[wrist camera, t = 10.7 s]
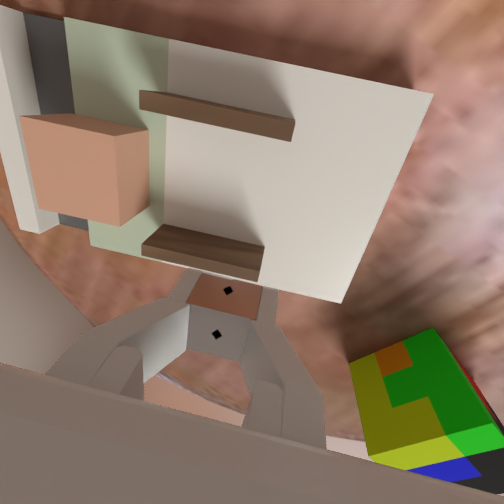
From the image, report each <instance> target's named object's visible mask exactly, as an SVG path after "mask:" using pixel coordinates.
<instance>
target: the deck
mask: <svg viewBox="0 0 504 504" xmlns="http://www.w3.org/2000/svg"><path fill="white" fill-rule="evenodd" d="M139 90H148V91H159V92H169V93H173V94H178V95H182V96H187V97H192V98H196V99H201V100H206V101H210V102H215V103H220V104H224V105H229V106H234V107H238V108H243V109H248V110H252V111H257V112H262V113H266V114H271V115H276V116H280V117H285V118H290V119H294V120H295V127H294V132H293V136H292V140H291V142H288V141H283V140H278V139H274V138H269V137H264V136H260V135H255V134H251V133H246V132H241V131H237V130H232V129H228V128H223V127H218V126H214V125H209V124H205V123H200V122H195V121H191V120H186V119H182V118H177V117H172V116H168V115H163V114H159V113H154V112H149V111H145V110H140V109H139ZM433 95H434V94H431V93H426V92H421V91H416V90H412V89H407V88H402V87H397V86H393V85H388V84H383V83H378V82H373V81H369V80H364V79H359V78H354V77H350V76H345V75H340V74H335V73H330V72H326V71H321V70H316V69H311V68H307V67H302V66H297V65H292V64H287V63H283V62H278V61H273V60H268V59H264V58H259V57H254V56H249V55H244V54H240V53H235V52H230V51H225V50H221V49H216V48H211V47H206V46H201V45H197V44H192V43H187V42H182V41H178V40H173V39H168V38H163V37H158V36H154V35H149V34H144V33H139V32H135V31H130V30H125V29H120V28H115V27H111V26H106V25H101V24H96V23H92V22H87V21H82V20H77V19H72V18H68V17H64V21H62V20H57V19H52V18H47V17H43V16H38V15H33V14H28V13H23V12H20V11H17V10H14V9H11V8H8V7H6V6H3V5H0V152H1V156H2V160H3V164H4V168H5V172H6V176H7V180H8V184H9V188H10V192H11V196H12V200H13V204H14V208H15V212H16V216H17V220H18V224H19V227H20V229H21V230H26V231H30V232H34V233H39V234H41V233H43V232H45V231H47V230H48V229H50V228H52V227H54V226H56V225H58V224H63V225H67V226H71V227H76V228H80V229H84V230H89V236H90V244H91V246H95V247H99V248H103V249H108V250H112V251H116V252H120V253H125V254H129V255H133V256H138V257H142V258H146V259H151V260H155V261H159V262H164V263H168V264H172V265H177V266H181V267H185V268H193V267H189V266H184V265H180V264H176V263H171V262H167V261H163V260H158V259H154V258H150V257H146V256H141V244H142V243H143V242H144V241H145V240H146V239H147V238H148V237H149V236H150V235H152V234H153V233H154V232H155V231H156V230H157V229H158V228H159V227H160V226H161V225H162V224H168V225H172V226H177V227H181V228H185V229H190V230H194V231H198V232H203V233H207V234H212V235H216V236H220V237H225V238H229V239H234V240H238V241H242V242H247V243H251V244H255V245H260V246H264V247H265V249H264V254H263V259H262V264H261V269H260V274H259V278H258V282H253V281H249V280H245V279H240V278H236V277H232V276H228V275H223V274H219V273H215V272H210V271H206V270H202V269H197V268H193V269H197V270H201V271H203V272H204V271H206V272H209V273H213V274H217V275H220V276H224V277H228V278H233V279H237V280H241V281H245V282H250V283H254V284H258V285H263V286H267V287H271V288H276V289H280V290H284V291H289V292H293V293H297V294H302V295H306V296H310V297H314V298H319V299H323V300H327V301H332V302H336V303H340V304H341V303H342V300H343V298H344V296H345V294H346V291H347V289H348V287H349V285H350V282H351V280H352V278H353V276H354V273H355V271H356V269H357V266H358V264H359V262H360V260H361V257H362V255H363V253H364V251H365V248H366V246H367V244H368V242H369V239H370V237H371V235H372V233H373V230H374V228H375V226H376V224H377V221H378V219H379V217H380V215H381V212H382V210H383V208H384V206H385V203H386V201H387V199H388V197H389V194H390V192H391V190H392V188H393V185H394V183H395V181H396V179H397V176H398V174H399V172H400V170H401V167H402V165H403V163H404V161H405V158H406V156H407V154H408V152H409V149H410V147H411V145H412V143H413V140H414V138H415V136H416V134H417V131H418V129H419V127H420V125H421V122H422V120H423V118H424V115H425V113H426V111H427V109H428V106H429V104H430V102H431V100H432V97H433ZM69 113H72V114H77V115H81V116H86V117H91V118H95V119H100V120H105V121H109V122H114V123H119V124H123V125H128V126H133V127H137V128H142V129H147V130H149V207H147V208H146V209H145V210H143V211H142V212H140V213H139V214H138V215H136V216H135V217H133V218H132V219H131V220H129V221H128V222H126V223H125V224H124V225H122V226H121V227H118V226H114V225H109V224H105V223H100V222H96V221H91V220H87V219H83V218H78V217H74V216H69V215H65V214H60V213H56V212H51V211H47V210H43V209H39V208H38V204H37V199H36V194H35V190H34V185H33V180H32V175H31V171H30V166H29V161H28V157H27V152H26V147H25V142H24V138H23V133H22V128H21V124H20V119H19V116H23V115H46V114H69Z"/></svg>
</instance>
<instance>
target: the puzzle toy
mask: <svg viewBox="0 0 504 504" xmlns="http://www.w3.org/2000/svg"><path fill="white" fill-rule="evenodd" d="M349 367H350V372H351V377H352V381H353V386H354V391H355V395H356V400H357V405H358V409H359V414H360V419H361V423H362V428H363V433H364V438H365V442H366V447H367V452H368V456H369V457H370V458H371V459H372V460H373V461H374V462H376V463H380V464H383V465H387V466H391V467H395V468H398V469H402V470H406V471H410V472H413V473H417V474H421V475H425V476H429V477H432V478H436V479H440V480H444V481H447V482H451V483H455V484H459V485H462V486H466V487H470V488H474V489H477V490H481V491H485V492H489V493H492V494H501V493H504V426H503V425H502V423H501V422H500V420H499V419H498V417H497V416H496V414H495V413H494V411H493V410H492V408H491V406H490V405H489V403H488V402H487V400H486V399H485V397H484V396H483V394H482V393H481V391H480V390H479V388H478V387H477V385H476V383H475V382H474V381H473V379H472V378H471V377H470V375H469V374H468V373H467V372H466V370H465V369H464V368H463V366H462V365H461V364H460V362H459V361H458V360H457V358H456V357H455V356H454V355H453V353H452V352H451V351H450V349H449V348H448V347H447V345H446V344H445V343H444V342H443V340H442V339H441V338H440V336H439V335H438V334H437V332H436V331H435V330H434V329H433V328H430V329H428V330H426V331H423V332H421V333H419V334H416V335H414V336H412V337H409V338H407V339H405V340H402V341H400V342H398V343H396V344H393V345H391V346H389V347H386V348H384V349H382V350H379V351H377V352H375V353H372V354H370V355H368V356H365V357H363V358H361V359H358V360H356V361H354V362H351V363H349Z"/></svg>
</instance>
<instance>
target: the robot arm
mask: <svg viewBox="0 0 504 504" xmlns="http://www.w3.org/2000/svg"><path fill="white" fill-rule="evenodd" d="M278 294H279V290H278V289H276V288H271V287H266V286H260V285H255V284H251V283H247V282H243V281H239V280H235V279H232V278H228V277H224V276H220V275H217V274H213V273H209V272H206V271H204V272H203V271H201V270H197V269H193V268H187V269H186V270H185V271H184V273H183V274H182V276H181V278H180V279H179V281H178V282H177V284H176V285H175V287H174V288H173V290H172V291H171V293H170V294H169V296H168V297H167V299H166V298H160V299H158V300H155V301H153V302H151V303H149V304H146V305H144V306H142V307H140V308H137V309H135V310H133V311H131V312H128V313H126V314H124V315H121V316H119V317H117V318H115V319H112V320H110V321H108V322H106V323H103V324H101V325H99V326H97V327H94V328H92V329H90V330H88V331H85V332H83V333H82V334H81V335H80V336H79V337H78V338H77V339H76V340H75V342H74V343H73V344H72V345H71V346H70V347H69V348H68V349H67V350H66V352H65V353H64V354H63V355H62V356H61V357H60V358H59V359H58V361H56V362H55V364H54V365H53V366H52V367H51V368H50V369H49V370H48V371H47V372H46V373H45V374H40V373H37V372H33V371H30V370H26V369H22V368H18V367H14V366H11V365H7V364H3V363H0V504H504V496H500V495H496V494H492V493H489V492H485V491H481V490H477V489H474V488H470V487H466V486H462V485H459V484H455V483H451V482H447V481H444V480H440V479H436V478H432V477H429V476H425V475H421V474H417V473H413V472H410V471H406V470H402V469H398V468H395V467H391V466H387V465H383V464H380V463H376V462H372V461H368V460H364V459H361V458H357V457H353V456H350V455H346V454H342V453H338V452H335V451H330V450H327V448H326V434H325V419H324V405H323V395H322V393H321V392H320V390H319V389H318V387H317V385H316V384H315V382H314V381H313V379H312V377H311V376H310V374H309V373H308V371H307V370H306V368H305V366H304V365H303V363H302V362H301V360H300V358H299V357H298V355H297V354H296V352H295V350H294V349H293V347H292V346H291V344H290V343H289V341H288V339H287V338H286V336H285V335H284V333H283V331H282V330H281V328H280V327H278V326H275V321H276V312H277V303H278ZM186 349H190V350H195V351H199V352H204V353H208V354H212V355H213V354H214V355H216V356H220V357H223V358H227V359H230V360H234V361H237V362H240V366H241V369H242V372H243V375H244V378H245V381H246V384H247V387H248V390H249V393H250V396H251V399H250V402H249V405H248V408H247V411H246V414H245V417H244V420H243V424H242V427H240V426H236V425H232V424H228V423H225V422H221V421H218V420H214V419H210V418H206V417H202V416H199V415H195V414H191V413H187V412H184V411H180V410H176V409H172V408H169V407H165V406H161V405H157V404H154V403H149V402H146V401H144V385H143V384H144V383H145V382H146V381H147V380H148V379H150V378H151V377H152V376H154V375H155V374H156V373H157V372H159V371H160V370H161V369H163V368H164V367H165V366H166V365H168V364H169V363H170V362H172V361H173V360H174V359H175V358H177V357H178V356H179V355H181V354H182V353H183V352H184V351H186Z"/></svg>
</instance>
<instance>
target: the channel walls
mask: <svg viewBox="0 0 504 504" xmlns="http://www.w3.org/2000/svg"><path fill="white" fill-rule="evenodd" d="M139 109H140V110H145V111H149V112H154V113H159V114H163V115H168V116H172V117H177V118H182V119H186V120H191V121H195V122H200V123H205V124H209V125H214V126H218V127H223V128H228V129H232V130H237V131H241V132H246V133H251V134H255V135H260V136H264V137H269V138H274V139H278V140H283V141H288V142H291V140H292V136H293V132H294V127H295V120H294V119H290V118H285V117H280V116H276V115H271V114H266V113H262V112H257V111H252V110H248V109H243V108H238V107H234V106H229V105H224V104H220V103H215V102H210V101H206V100H201V99H196V98H192V97H187V96H182V95H178V94H173V93H169V92H159V91H148V90H139ZM264 249H265V247H264V246H260V245H255V244H251V243H247V242H242V241H238V240H234V239H229V238H225V237H220V236H216V235H212V234H207V233H203V232H198V231H194V230H190V229H185V228H181V227H177V226H172V225H168V224H162V225H161V226H160V227H159V228H158V229H157V230H156V231H155V232H154V233H153V234H152V235H150V236H149V237H148V238H147V239H146V240H145V241H144V242H143V243H142V244H141V256H146V257H150V258H154V259H158V260H163V261H167V262H171V263H176V264H180V265H184V266H189V267H193V268H197V269H202V270H206V271H210V272H215V273H219V274H223V275H228V276H232V277H236V278H240V279H245V280H249V281H253V282H258V278H259V274H260V269H261V264H262V259H263V254H264Z"/></svg>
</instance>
